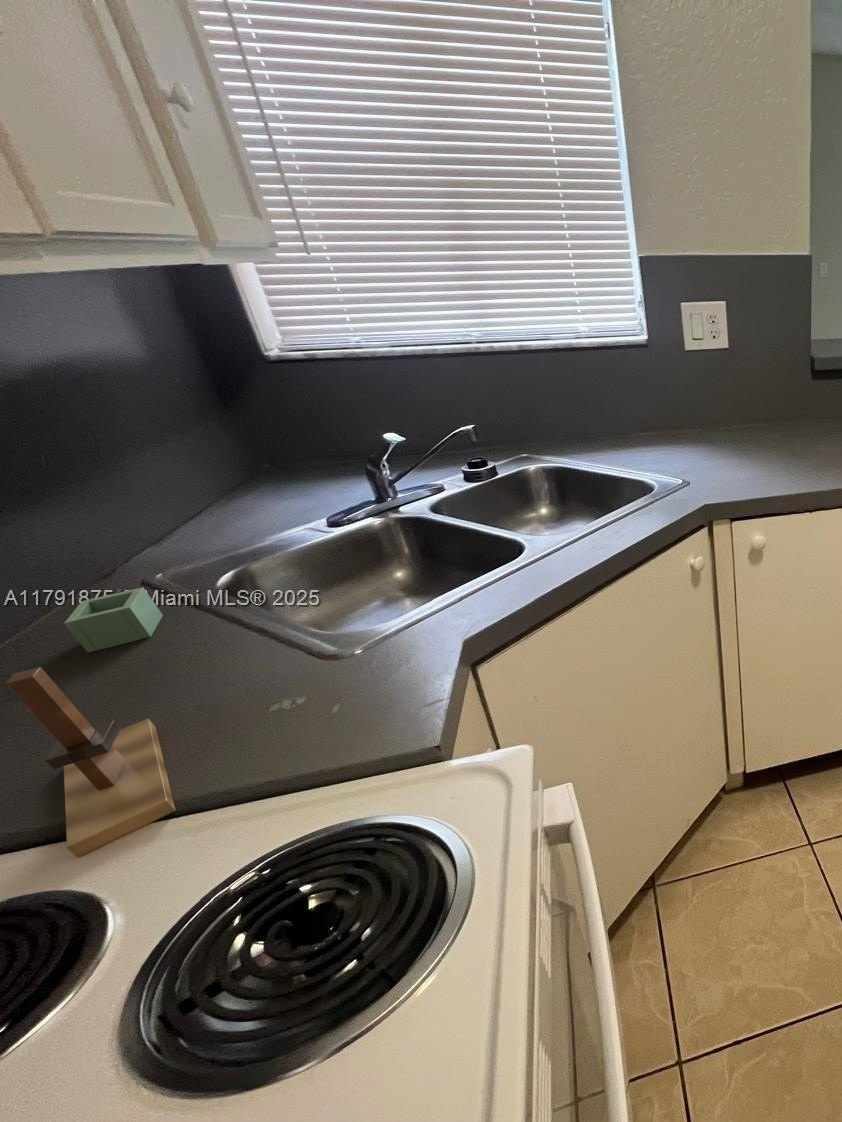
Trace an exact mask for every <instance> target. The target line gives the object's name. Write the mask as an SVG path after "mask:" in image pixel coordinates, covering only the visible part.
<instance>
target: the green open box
mask: <svg viewBox="0 0 842 1122" xmlns="http://www.w3.org/2000/svg"><path fill="white" fill-rule="evenodd" d="M163 616H164V615H163V613H162V612H161V610H160V608H159V607H158V606H157V605H156V603H155V601H154V600H153V599H152V598H151V596H150V595H149V593H148V592H147V590H146V589H145V587H144V586H142V587H138V588H133V589H130V590H129V589H128V590H124V592H120V593H116V592H115V593H112V594H107V595H102V596H98V597H93V598H91V599H85V600H81V602H80V603H79V604H78V605H77V606H76V608H74V610H73V612H72V613H71V614H70V615H69V616H68V618H66V620H65V621H64V625H65V626H66V628H67V629H68V630H69V631H70V632H71V634H72V635H73V636H74V638H76V640H77V641H78V642H79V643H80V645H81V646H82V648H84V650H85V651H86V652H87V653H89V654H90V653H93V652H97V651H101V650H105V649H109V648H113V647H116V646H121V645H124V644H128V643H132V642H137V641H141V640H143V639H149V638H152V636H153V634H154V632H155V631H156V629H157V627H158V626H159V623H161V620H162V618H163Z"/></svg>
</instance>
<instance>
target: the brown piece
mask: <svg viewBox="0 0 842 1122" xmlns="http://www.w3.org/2000/svg"><path fill="white" fill-rule="evenodd" d="M6 685H7V687H8V688H9V689H10V690H11V691H12V692H13V693H14V694H15V696H16V697H18V698H19V700H20V701H21V702H22V703H23V704H24V706H26V707H27V708H28V709H29V711H30V712H31V713H32V714H33V715H34V716H35V717H36V718H37V719H38V720H39V722H40V723H41V724H42V725H43V726H44V727H45V728H46V729H47V730H48V731H49V733H50V734H52V735H53V737H54V738H55V739H56V742H55V744H54V746H53V747H52V749H51V750H50V752H49V754H48V755H47V757H46V758H45V762H46V763H47V764H48V765H49V767H51V768H52V769H53V770H56V769H59V768H62V767H63V768H64V766H66V765H69V764H72V763H74V764H75V765H76V767H77V768H78V769H79V770H80V771H81V772H82V773H83V774H84V775H85V776H86V777H87V778H88V780H89V781H90V782H91V783H92V784H93V785H94V786H95V787H96V788H97V789H98V790H102V789H105V788H108V787H111V786H114V784H115V782H116V780H117V778H118V776H119V774H120V772H121V770H122V768H123V766H124V764H125V762H126V760H125V759H124V758H123V757H122V756H121V754H120V753H119V752H118V751H117V750H116V749H115V747H114V746H113V743H114V741H115V739H116V737H117V735H118V733H119V731H120V730H121V729H122V728H121V727H120V725H118V723H117V722H116V720H115V719H112V720H109V721H106V722H103V723H99V724H96V725H91V723H90V722H89V721H88V720H87V719H86V718H85V716H84V715H83V714H82V713H81V711H79V709H78V708H77V707H76V706H75V705H74V703H72V702H71V700H70V699H69V698H68V697H67V695H65V693H64V692H63V691H62V689H60V687H59V686H58V685H57V684H56V683H55V681H53V679H52V678H51V677H50V676H49V674H47V672H46V671H45V670H44V669H43V667H41V666H39V667H34V668H31V669H26V670H21V671H19V672H18V671H17V672H15V673H13V674H12V676H10V678H9V680H8V681H6Z"/></svg>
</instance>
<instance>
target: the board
mask: <svg viewBox="0 0 842 1122" xmlns="http://www.w3.org/2000/svg"><path fill="white" fill-rule="evenodd" d="M113 746H114V747H115V749H116V750H117V751H118V752H119V753H120V754H121V756H122V757H123V758H124V759H125V760H126V762H125V764H124V766H123V768H122V770H121V772H120V774H119V776H118V778H117V780H116V782H115V784H114V786H111V787H108V788H105V789H102V790H98V789H97V788H96V787H95V786H94V785H93V784H92V783H91V782H90V781H89V780H88V778H87V777H86V776H85V775H84V774H83V773H82V772H81V771H80V770H79V769H78V768H77V767H76V765H75V764H74V763H72V764H69V765H66V766H63V780H64V781H63V783H64V805H65V807H64V808H65V832H66V848H67V849H68V850H69V851H70V852H71V853H72V855H74V856H75V857H76V858H80V857H82V856H84V855H86V854H89V853H90V852H93V851H95V850H97V849H99V848H101V847H103V846H105V845H107V844H110V843H112V842H114V841H116V840H118V839H120V838H122V837H124V836H126V835H128V834H130V833H132V832H134V831H136V830H138V829H141V828H144V827H145V826H147V825H149V824H151V823H154V822H156V821H158V820H160V819H162V818H164V817H166V816H168V815H170V814H172V813H175V812H176V806H175V803H174V802H175V801H174V798H173V793H172V789H171V785H170V781H169V777H168V772H167V769H166V765H165V760H164V756H163V752H162V747H161V743H160V740H159V735H158V731H157V727H156V726H155V725H154V723H153V722H152V721H151V720H150V718H146V719H143V720H141V721H138V722H136V723H133V724H131V725H128V726H126V727H123V728H121V730H120V731H119V733H118V735H117V737H116V739H115V741H114V743H113Z"/></svg>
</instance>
